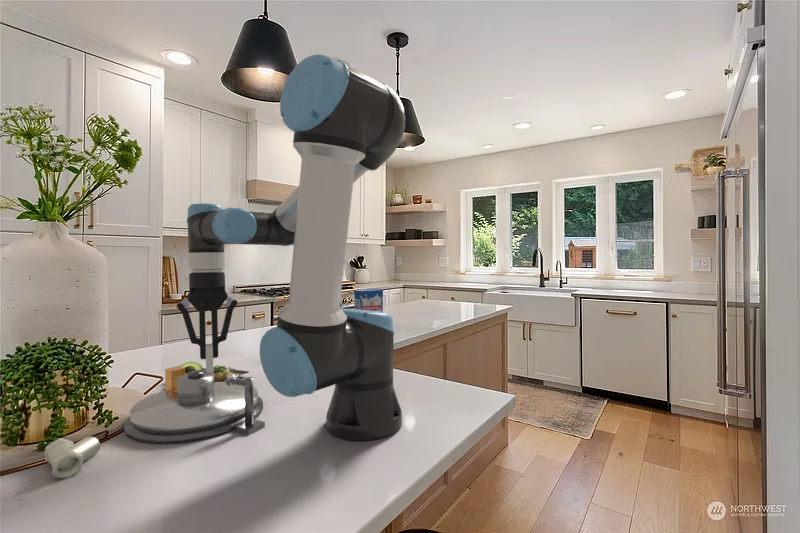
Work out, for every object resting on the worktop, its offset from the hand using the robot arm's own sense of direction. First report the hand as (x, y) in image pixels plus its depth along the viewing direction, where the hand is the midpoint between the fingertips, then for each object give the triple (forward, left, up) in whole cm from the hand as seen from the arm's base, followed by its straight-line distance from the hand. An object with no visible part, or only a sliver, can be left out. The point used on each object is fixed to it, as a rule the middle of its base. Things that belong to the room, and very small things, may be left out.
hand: (209, 372), depth 93 cm
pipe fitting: (-21, +20, -7) cm, 30 cm away
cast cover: (-8, +3, -3) cm, 9 cm away
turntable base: (-8, +2, -7) cm, 11 cm away
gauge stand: (-18, -5, -7) cm, 20 cm away
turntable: (-8, +2, -5) cm, 10 cm away
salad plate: (+17, +1, -7) cm, 19 cm away
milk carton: (+46, -59, -7) cm, 75 cm away
